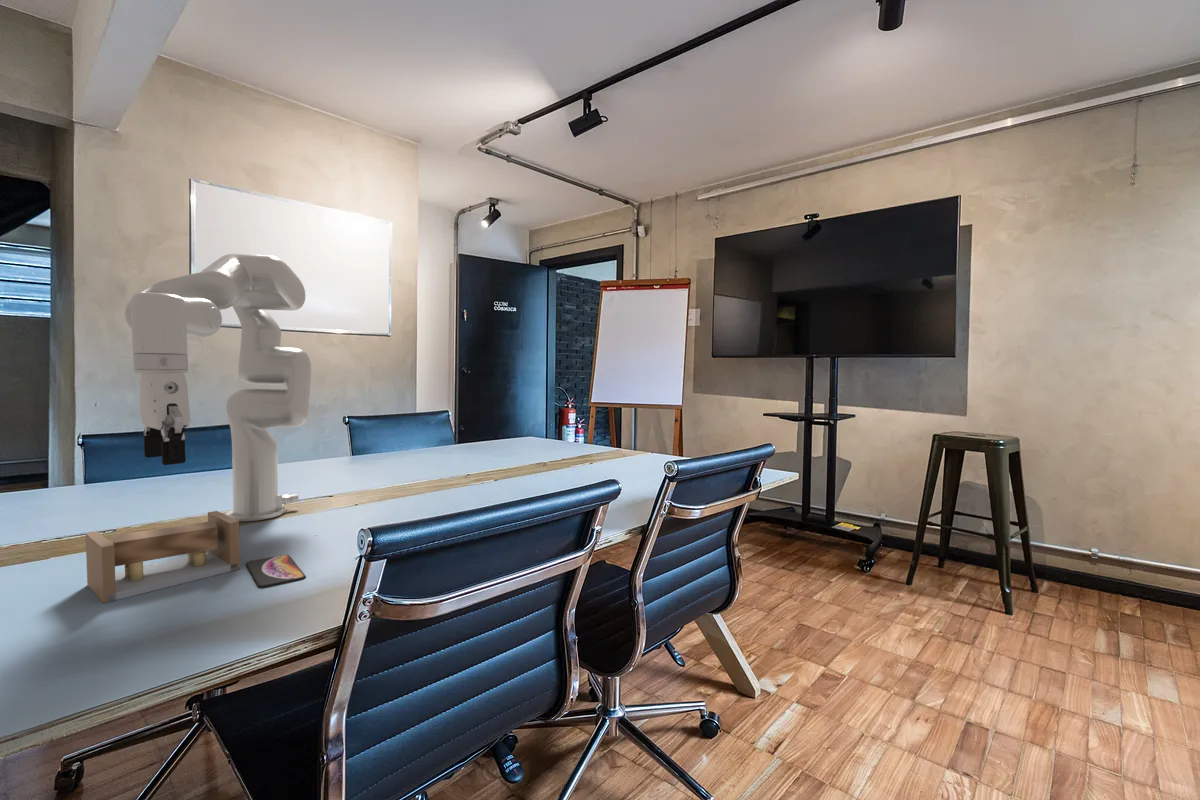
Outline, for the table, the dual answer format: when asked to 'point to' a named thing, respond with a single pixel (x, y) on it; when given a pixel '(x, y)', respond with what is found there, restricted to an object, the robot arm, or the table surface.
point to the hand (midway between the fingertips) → (164, 460)
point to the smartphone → (274, 571)
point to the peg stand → (160, 564)
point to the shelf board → (164, 542)
